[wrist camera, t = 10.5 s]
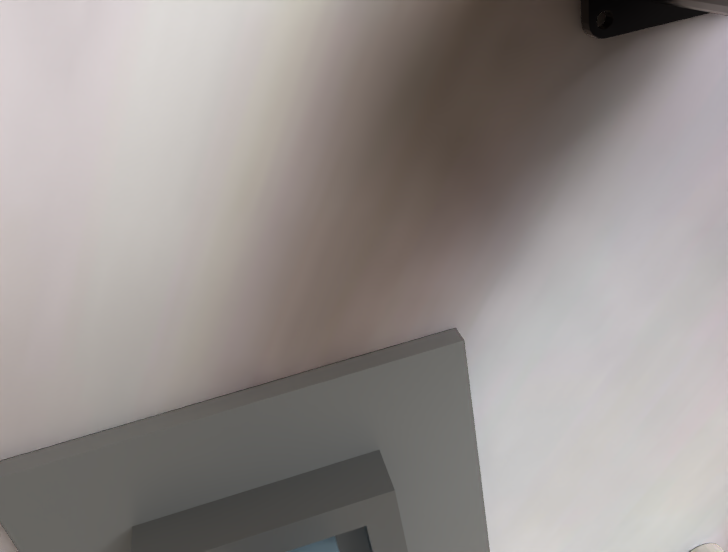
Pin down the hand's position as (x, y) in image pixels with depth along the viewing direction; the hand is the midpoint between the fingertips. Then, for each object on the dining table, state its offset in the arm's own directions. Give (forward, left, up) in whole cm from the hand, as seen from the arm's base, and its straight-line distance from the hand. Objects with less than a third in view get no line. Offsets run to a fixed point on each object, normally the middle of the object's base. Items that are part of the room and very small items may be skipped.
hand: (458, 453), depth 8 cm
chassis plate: (+4, +17, -13) cm, 22 cm away
